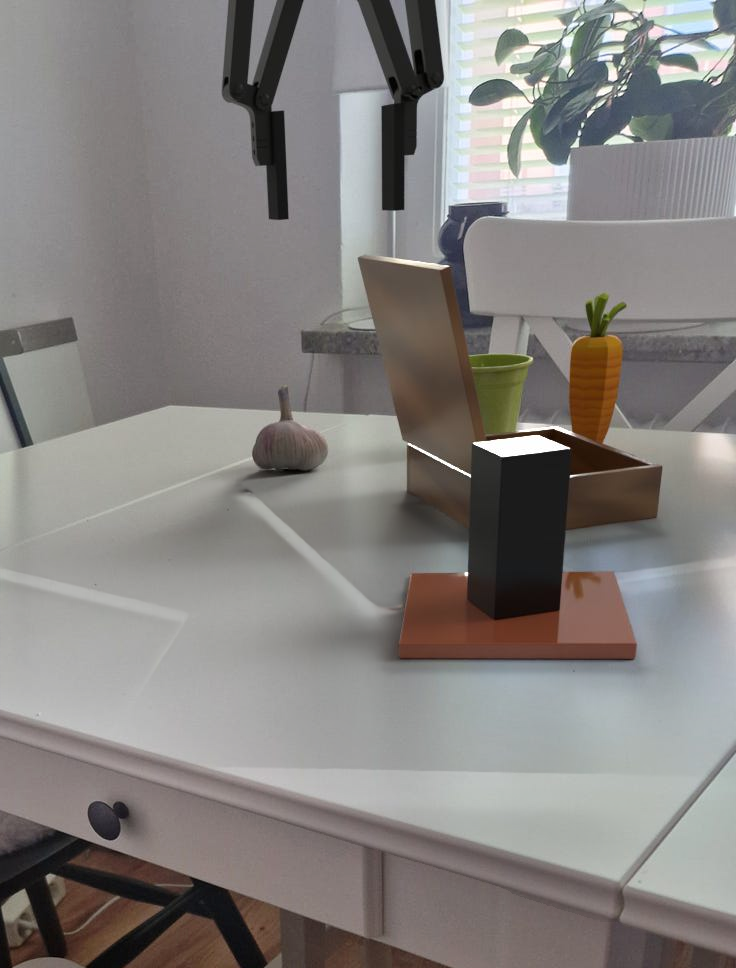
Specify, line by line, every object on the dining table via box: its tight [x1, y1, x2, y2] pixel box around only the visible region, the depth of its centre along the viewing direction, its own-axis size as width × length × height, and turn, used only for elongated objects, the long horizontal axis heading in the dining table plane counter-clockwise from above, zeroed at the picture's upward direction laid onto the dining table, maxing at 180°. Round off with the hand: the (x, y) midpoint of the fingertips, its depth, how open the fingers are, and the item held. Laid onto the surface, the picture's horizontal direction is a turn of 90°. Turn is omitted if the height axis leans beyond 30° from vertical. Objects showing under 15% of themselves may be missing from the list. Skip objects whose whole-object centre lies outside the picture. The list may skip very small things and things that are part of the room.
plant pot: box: [469, 353, 534, 435], centre depth 117 cm, size 9×9×9 cm
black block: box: [467, 435, 572, 620], centre depth 73 cm, size 4×4×10 cm
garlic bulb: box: [251, 384, 329, 471], centre depth 116 cm, size 8×7×8 cm
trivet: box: [398, 570, 638, 660], centre depth 76 cm, size 14×14×1 cm
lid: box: [357, 253, 487, 475], centre depth 91 cm, size 15×18×1 cm
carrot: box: [568, 292, 627, 444], centre depth 108 cm, size 5×5×15 cm
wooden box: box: [406, 425, 663, 531], centre depth 97 cm, size 14×18×5 cm
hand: (336, 214), depth 84 cm, fingers open, 8 cm apart
